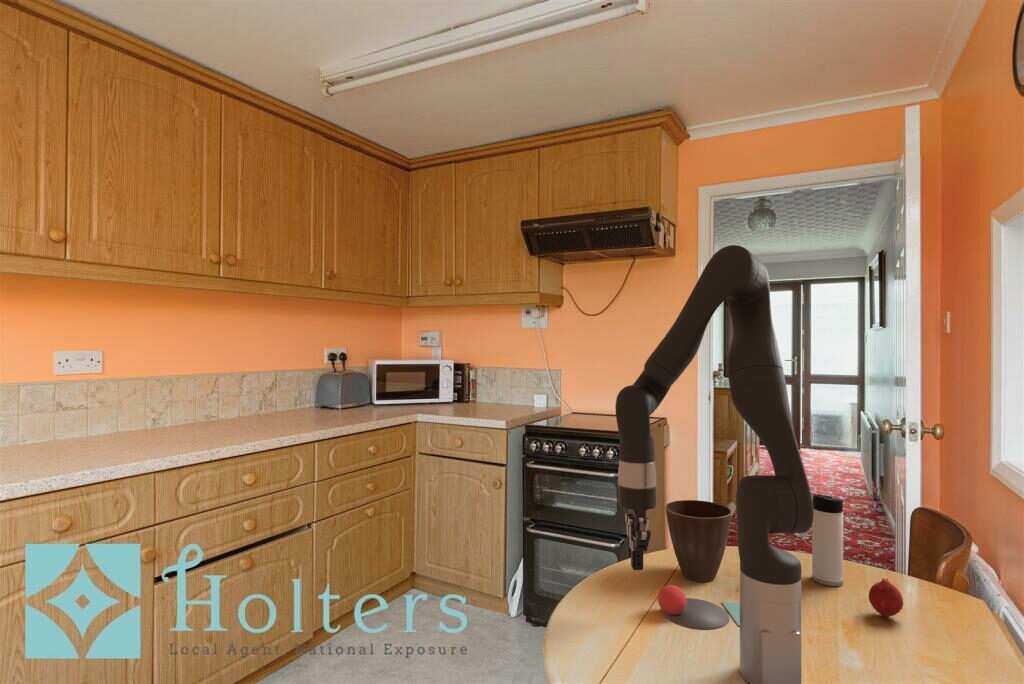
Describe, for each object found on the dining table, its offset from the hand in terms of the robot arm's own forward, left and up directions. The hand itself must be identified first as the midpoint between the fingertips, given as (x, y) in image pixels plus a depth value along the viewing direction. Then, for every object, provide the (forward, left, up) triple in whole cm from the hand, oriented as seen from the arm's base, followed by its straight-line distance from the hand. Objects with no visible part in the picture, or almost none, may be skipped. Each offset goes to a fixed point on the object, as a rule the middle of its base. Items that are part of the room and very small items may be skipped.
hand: (637, 568), depth 115 cm
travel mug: (+18, -47, -10) cm, 51 cm away
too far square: (+1, -24, -9) cm, 26 cm away
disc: (+1, -12, -9) cm, 15 cm away
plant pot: (+20, -18, -10) cm, 29 cm away
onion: (+1, -50, -10) cm, 51 cm away
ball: (+1, -7, -7) cm, 10 cm away
